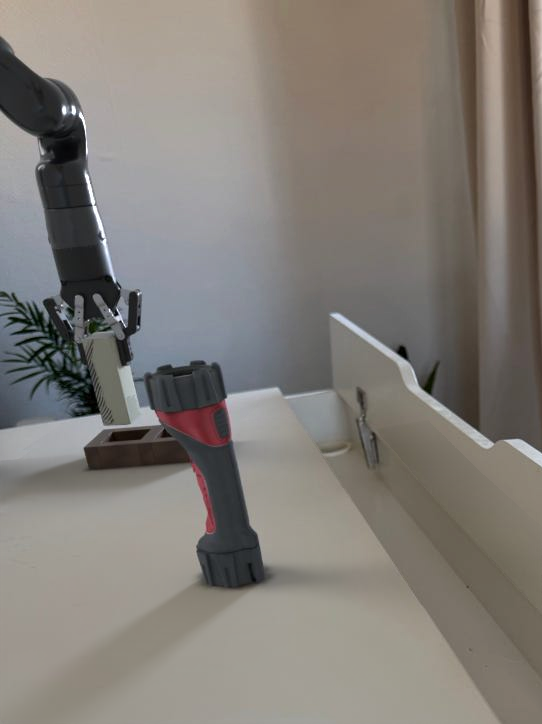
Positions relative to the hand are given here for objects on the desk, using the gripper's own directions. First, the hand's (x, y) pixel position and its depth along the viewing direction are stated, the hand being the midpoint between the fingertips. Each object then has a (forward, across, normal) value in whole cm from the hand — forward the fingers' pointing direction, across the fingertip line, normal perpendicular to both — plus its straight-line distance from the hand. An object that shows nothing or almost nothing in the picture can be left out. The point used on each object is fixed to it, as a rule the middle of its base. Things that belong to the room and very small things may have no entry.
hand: (109, 366), depth 144 cm
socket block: (+14, -4, 0) cm, 15 cm away
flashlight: (+15, -24, +50) cm, 57 cm away
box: (+9, 0, 0) cm, 9 cm away
